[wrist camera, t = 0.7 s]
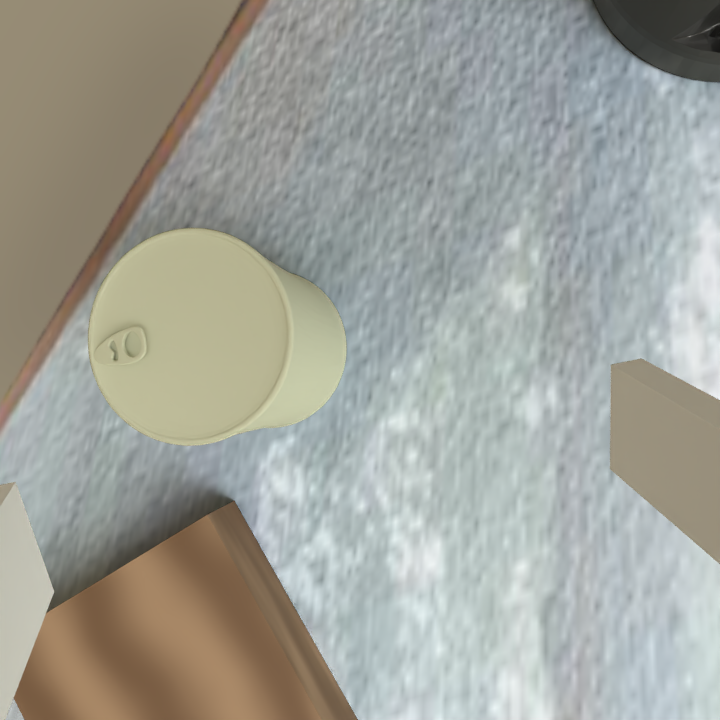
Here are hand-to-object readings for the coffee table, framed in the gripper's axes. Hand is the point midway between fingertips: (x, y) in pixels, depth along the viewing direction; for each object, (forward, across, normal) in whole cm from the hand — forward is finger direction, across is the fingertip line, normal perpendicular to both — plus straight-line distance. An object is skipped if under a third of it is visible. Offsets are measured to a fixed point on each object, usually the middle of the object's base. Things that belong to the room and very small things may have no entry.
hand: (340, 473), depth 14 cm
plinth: (+19, -9, -22) cm, 31 cm away
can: (+24, -1, -5) cm, 25 cm away
